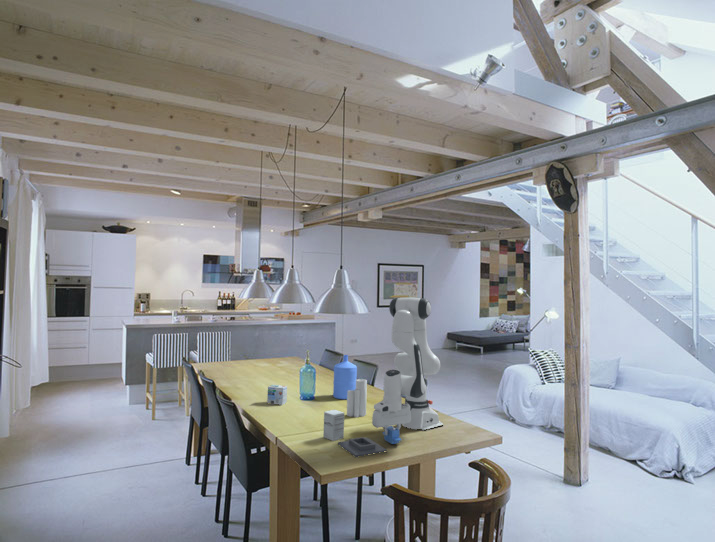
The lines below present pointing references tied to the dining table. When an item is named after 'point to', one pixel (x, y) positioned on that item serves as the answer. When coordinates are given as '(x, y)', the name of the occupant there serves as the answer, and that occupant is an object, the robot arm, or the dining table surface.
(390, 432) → the servo block
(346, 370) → the water jug
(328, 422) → the supplement box
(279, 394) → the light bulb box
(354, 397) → the white cylinder cluster
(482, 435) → the dining table surface
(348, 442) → the plate
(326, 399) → the dining table surface
